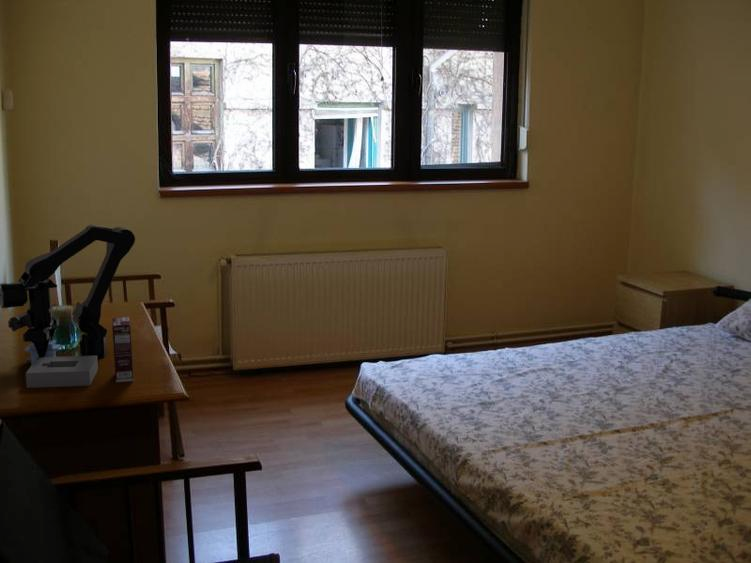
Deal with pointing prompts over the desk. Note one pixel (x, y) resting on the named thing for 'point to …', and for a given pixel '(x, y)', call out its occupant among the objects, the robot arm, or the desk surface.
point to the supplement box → (122, 349)
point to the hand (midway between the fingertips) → (43, 357)
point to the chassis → (62, 371)
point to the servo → (49, 353)
